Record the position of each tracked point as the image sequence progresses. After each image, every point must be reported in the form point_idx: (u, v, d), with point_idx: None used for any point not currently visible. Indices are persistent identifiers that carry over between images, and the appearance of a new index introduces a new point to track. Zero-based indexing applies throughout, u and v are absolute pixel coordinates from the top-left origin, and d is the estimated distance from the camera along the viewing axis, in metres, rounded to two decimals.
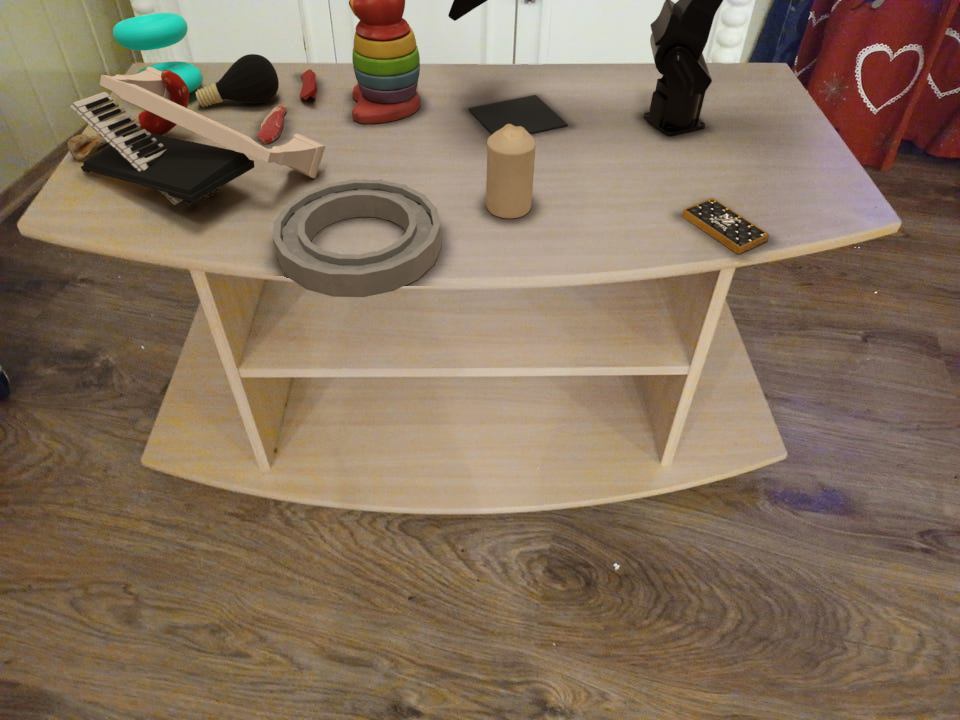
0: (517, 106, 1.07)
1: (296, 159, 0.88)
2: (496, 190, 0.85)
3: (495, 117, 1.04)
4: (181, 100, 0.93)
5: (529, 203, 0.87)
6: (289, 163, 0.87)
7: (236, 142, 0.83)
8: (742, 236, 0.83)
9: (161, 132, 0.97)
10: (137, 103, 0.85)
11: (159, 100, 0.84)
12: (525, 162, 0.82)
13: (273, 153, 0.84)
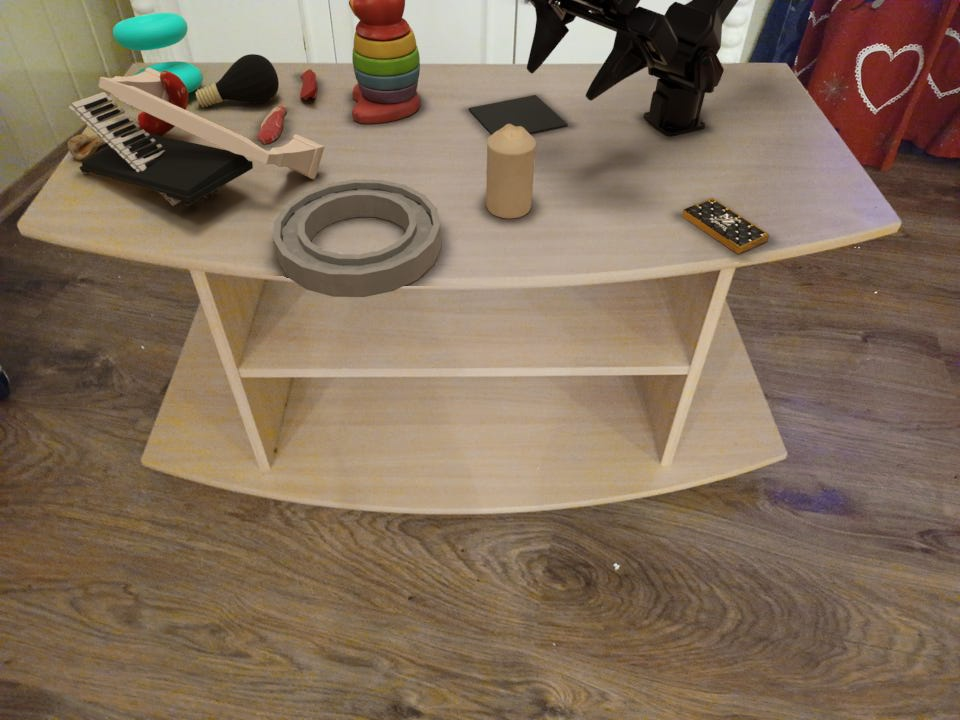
0: (517, 106, 1.07)
1: (295, 160, 0.88)
2: (496, 190, 0.85)
3: (495, 117, 1.04)
4: (180, 100, 0.93)
5: (529, 203, 0.87)
6: (289, 164, 0.87)
7: (235, 144, 0.83)
8: (742, 236, 0.83)
9: (160, 133, 0.97)
10: (136, 105, 0.85)
11: (158, 102, 0.84)
12: (525, 162, 0.82)
13: (272, 155, 0.83)
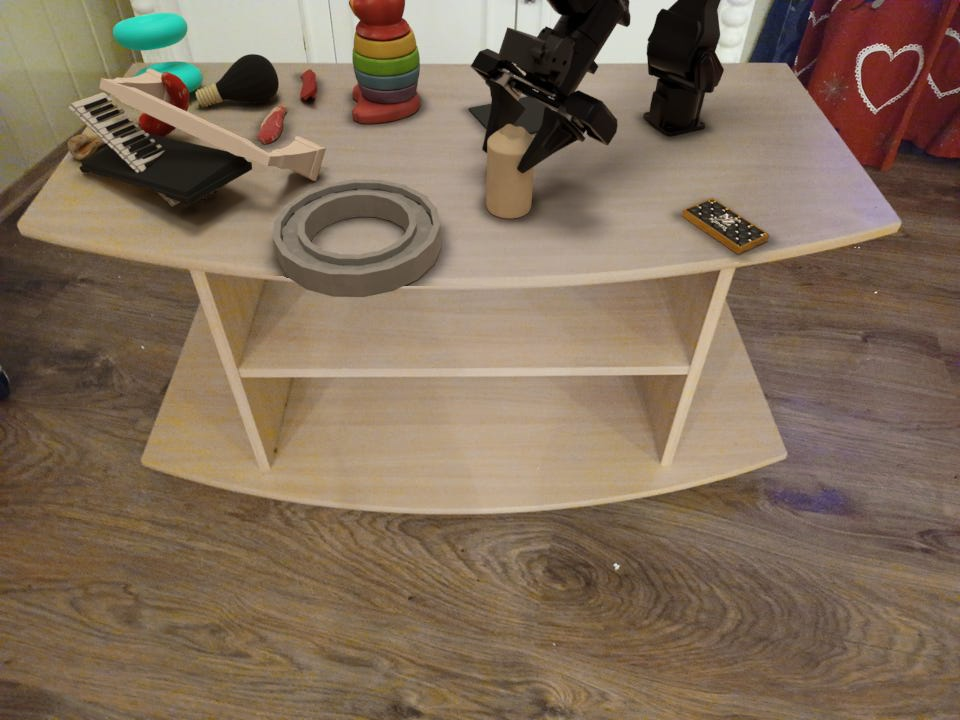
0: None
1: (297, 162, 0.88)
2: (496, 190, 0.85)
3: None
4: (181, 102, 0.93)
5: (529, 203, 0.87)
6: (290, 166, 0.87)
7: (236, 146, 0.83)
8: (742, 236, 0.83)
9: (162, 134, 0.96)
10: (137, 107, 0.85)
11: (159, 104, 0.84)
12: None
13: (273, 157, 0.83)
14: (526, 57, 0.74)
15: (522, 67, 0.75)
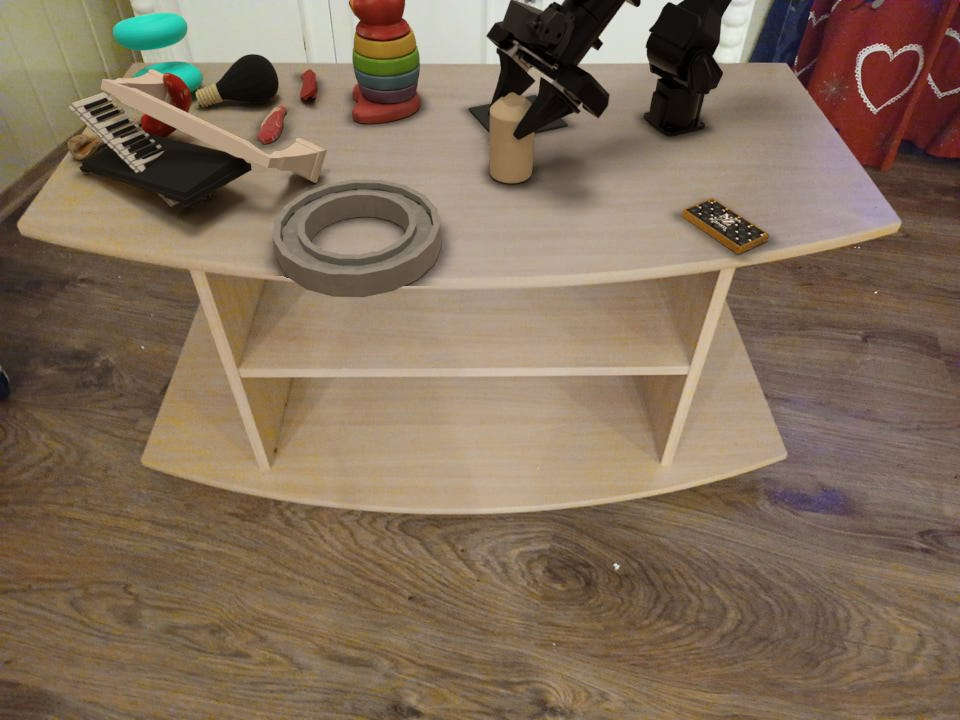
0: None
1: (297, 164, 0.87)
2: (496, 154, 0.90)
3: None
4: (183, 103, 0.93)
5: (528, 170, 0.92)
6: (290, 168, 0.87)
7: (236, 147, 0.82)
8: (742, 236, 0.83)
9: (163, 135, 0.96)
10: (138, 107, 0.85)
11: (159, 104, 0.84)
12: None
13: (273, 158, 0.83)
14: (522, 27, 0.79)
15: (518, 37, 0.80)
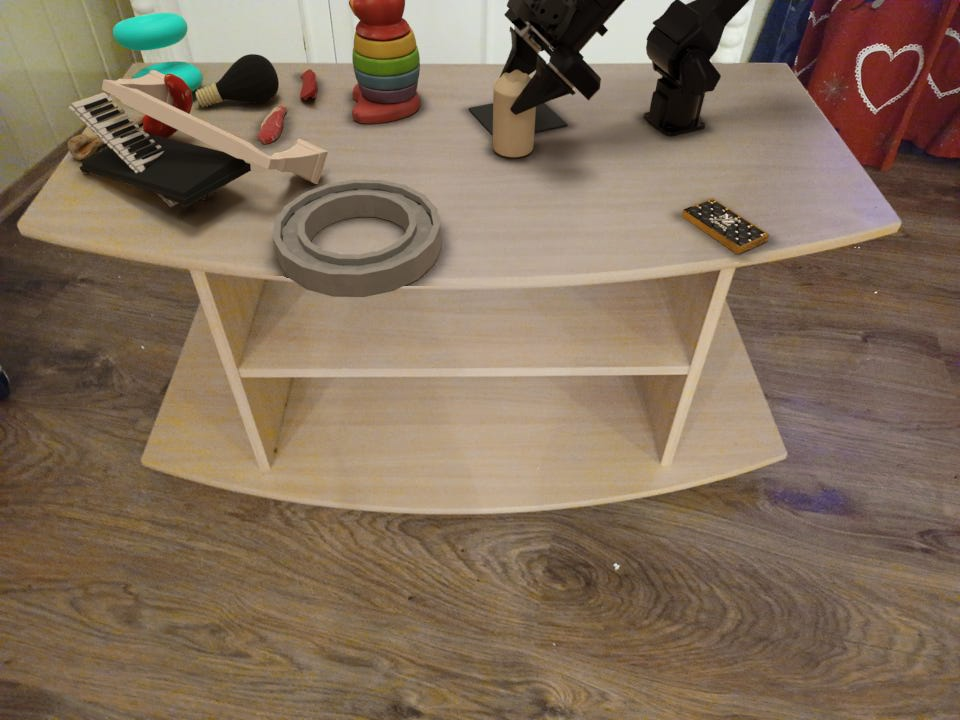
0: None
1: (298, 165, 0.87)
2: (496, 127, 0.95)
3: None
4: (184, 103, 0.93)
5: (526, 146, 0.96)
6: (291, 169, 0.86)
7: (237, 149, 0.82)
8: (742, 236, 0.83)
9: (165, 136, 0.96)
10: (138, 108, 0.84)
11: (160, 105, 0.84)
12: None
13: (274, 160, 0.83)
14: (521, 6, 0.84)
15: (517, 15, 0.84)
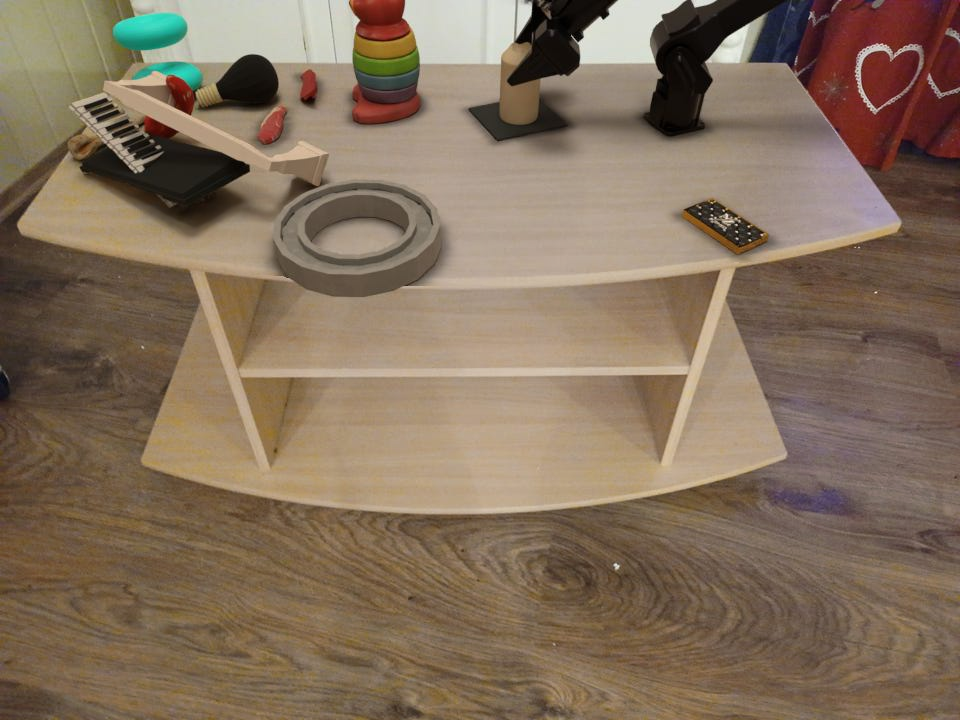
0: None
1: (299, 167, 0.87)
2: (500, 93, 1.02)
3: (495, 117, 1.04)
4: (185, 104, 0.93)
5: (525, 116, 1.02)
6: (292, 171, 0.86)
7: (237, 150, 0.82)
8: (742, 236, 0.83)
9: (166, 137, 0.96)
10: (140, 109, 0.84)
11: (161, 107, 0.83)
12: None
13: (275, 162, 0.82)
14: None
15: None
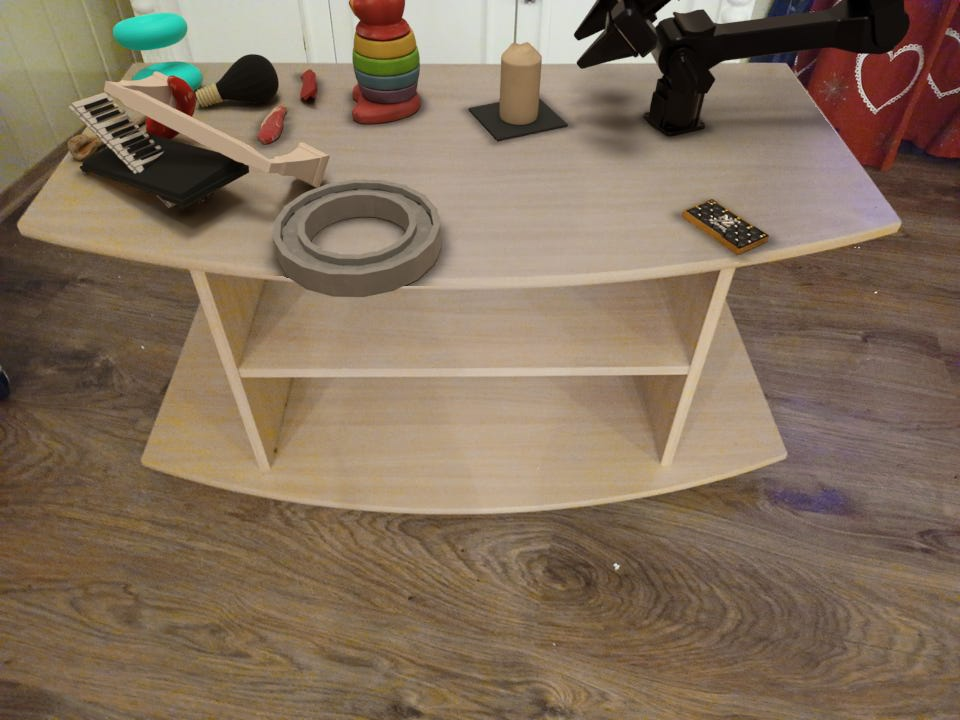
0: None
1: (299, 169, 0.87)
2: (500, 93, 1.02)
3: (495, 117, 1.04)
4: (187, 105, 0.92)
5: (525, 116, 1.02)
6: (292, 173, 0.86)
7: (237, 152, 0.82)
8: (742, 237, 0.83)
9: (167, 137, 0.96)
10: (140, 110, 0.84)
11: (162, 108, 0.83)
12: (518, 74, 0.97)
13: (274, 164, 0.82)
14: None
15: None
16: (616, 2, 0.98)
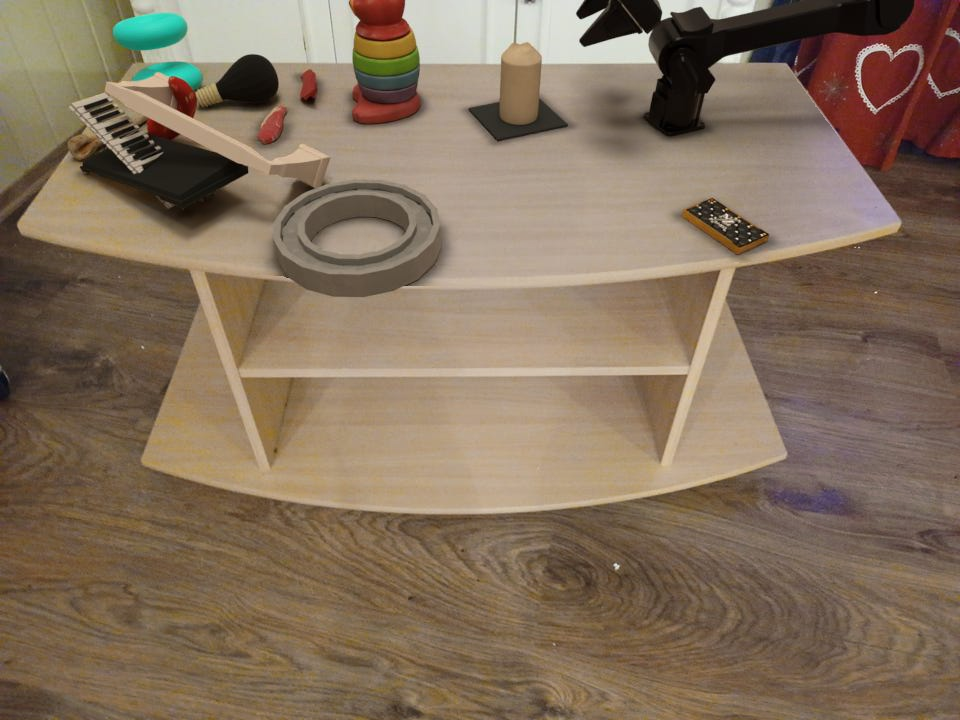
0: None
1: (300, 171, 0.86)
2: (500, 93, 1.02)
3: (495, 117, 1.04)
4: (188, 106, 0.92)
5: (525, 116, 1.02)
6: (292, 174, 0.86)
7: (237, 153, 0.82)
8: (742, 236, 0.83)
9: (168, 138, 0.96)
10: (141, 111, 0.84)
11: (162, 109, 0.83)
12: (518, 74, 0.97)
13: (274, 165, 0.82)
14: None
15: None
16: None
